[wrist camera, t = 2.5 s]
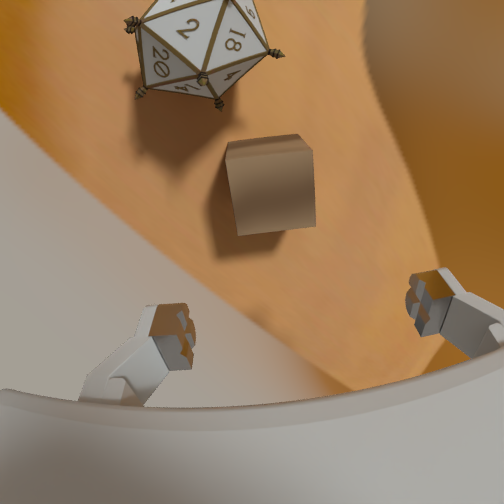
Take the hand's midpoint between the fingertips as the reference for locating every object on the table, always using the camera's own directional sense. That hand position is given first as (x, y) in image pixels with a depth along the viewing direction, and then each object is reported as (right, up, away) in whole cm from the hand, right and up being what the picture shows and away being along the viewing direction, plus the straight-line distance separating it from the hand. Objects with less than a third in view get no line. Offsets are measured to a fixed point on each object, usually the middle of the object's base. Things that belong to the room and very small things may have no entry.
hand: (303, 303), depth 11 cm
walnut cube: (-1, +8, +12) cm, 14 cm away
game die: (-5, +16, +7) cm, 18 cm away
